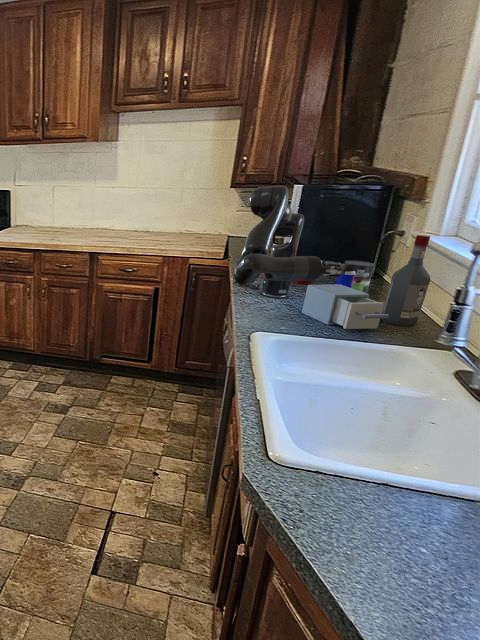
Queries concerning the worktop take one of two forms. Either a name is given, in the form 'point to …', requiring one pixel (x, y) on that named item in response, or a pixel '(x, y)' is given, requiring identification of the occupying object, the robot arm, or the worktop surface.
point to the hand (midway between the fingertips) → (352, 267)
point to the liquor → (408, 288)
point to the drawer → (357, 312)
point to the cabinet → (326, 300)
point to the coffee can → (361, 275)
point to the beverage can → (346, 279)
